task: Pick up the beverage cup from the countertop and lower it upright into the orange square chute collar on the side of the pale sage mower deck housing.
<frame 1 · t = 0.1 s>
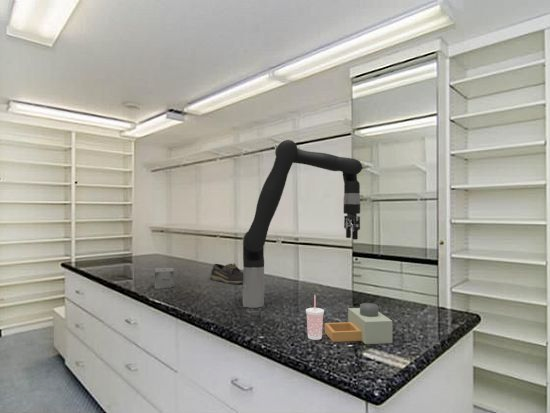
hand: (351, 238, 165), 29 cm above the counter, fingers open, 8 cm apart
boat shoe: (229, 282, 211), on the counter
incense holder: (164, 288, 193), on the counter
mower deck: (342, 336, 120), on the counter
beverage cup: (314, 337, 119), on the counter
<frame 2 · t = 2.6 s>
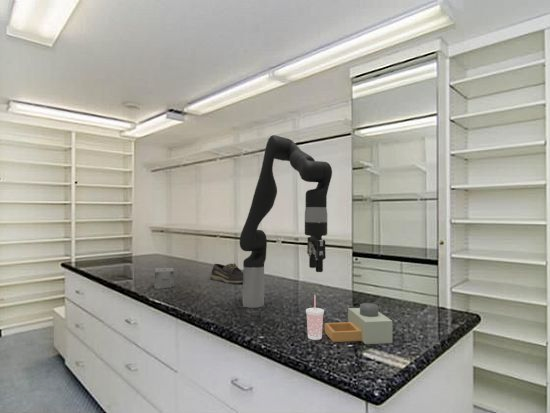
hand: (315, 269, 119), 22 cm above the counter, fingers open, 8 cm apart
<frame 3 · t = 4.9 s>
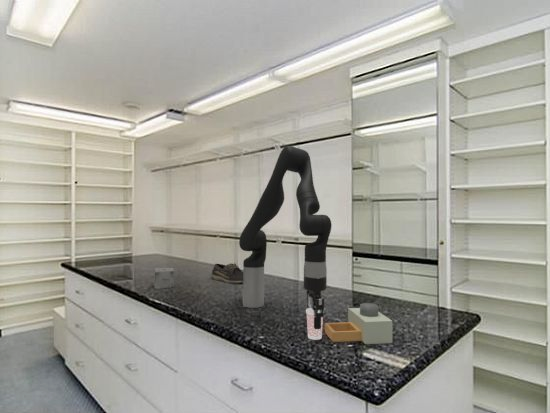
hand: (314, 325, 119), 4 cm above the counter, fingers closed on beverage cup, 6 cm apart
beverage cup: (314, 337, 119), on the counter, touching gripper
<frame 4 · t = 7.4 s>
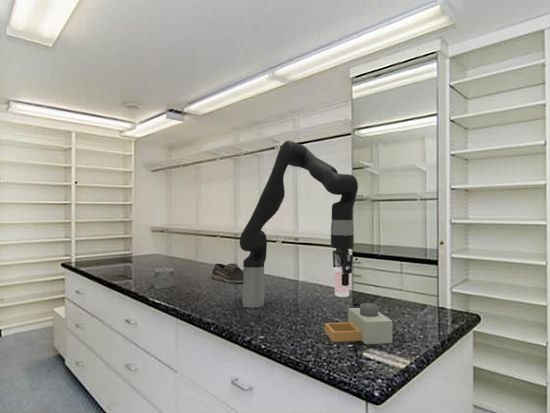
hand: (342, 283, 120), 18 cm above the counter, fingers closed on beverage cup, 6 cm apart
beverage cup: (341, 295, 120), point 13 cm above the counter, touching gripper
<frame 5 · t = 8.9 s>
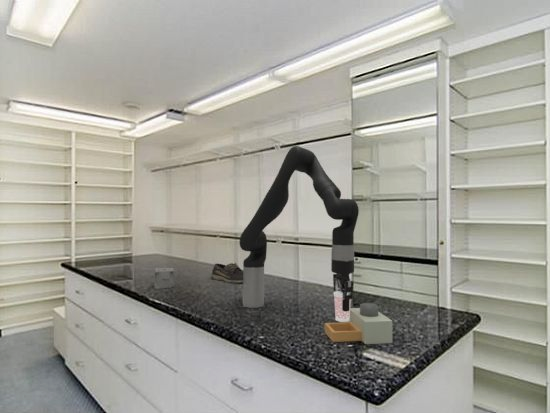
hand: (342, 308, 120), 9 cm above the counter, fingers closed on beverage cup, 6 cm apart
beverage cup: (342, 320, 120), point 5 cm above the counter, touching gripper
when the fingers open (5 cm above the counter, at t = 10.2 s): beverage cup drops 1 cm, resting in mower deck.
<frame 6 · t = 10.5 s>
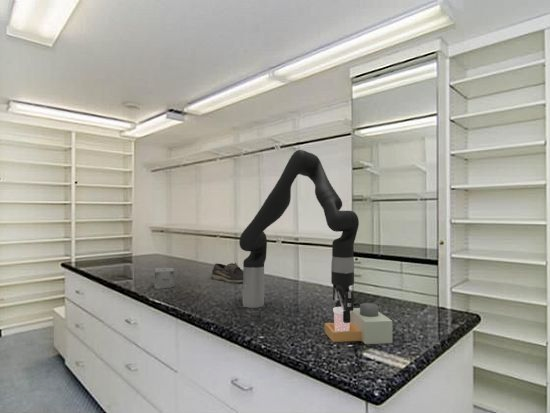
hand: (342, 318, 120), 6 cm above the counter, fingers open, 8 cm apart
beverage cup: (341, 336, 120), resting in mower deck
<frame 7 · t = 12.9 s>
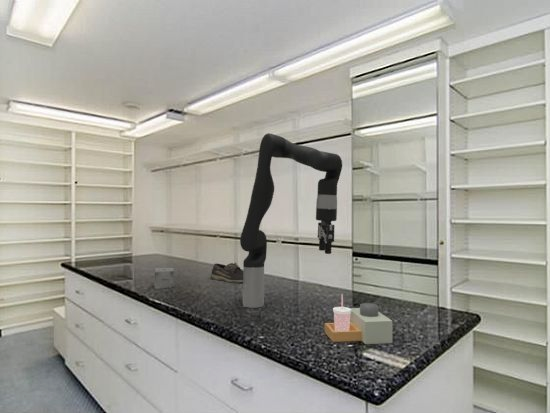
hand: (324, 252, 131), 27 cm above the counter, fingers open, 8 cm apart
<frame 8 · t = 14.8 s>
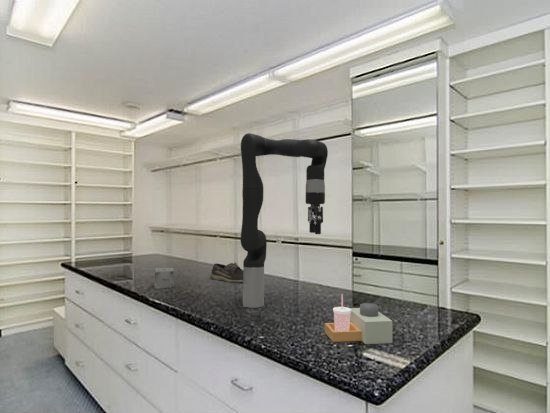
hand: (315, 233, 140), 33 cm above the counter, fingers open, 8 cm apart
at the end: beverage cup 0.2 cm off-centre on the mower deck, point 0.0 cm above the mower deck's base; beverage cup tilted 0°; the gripper is holding nothing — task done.
